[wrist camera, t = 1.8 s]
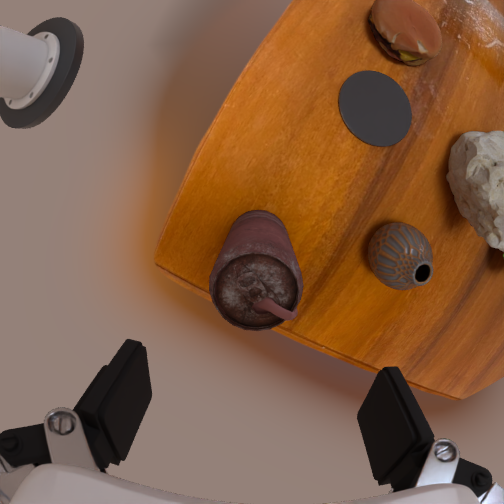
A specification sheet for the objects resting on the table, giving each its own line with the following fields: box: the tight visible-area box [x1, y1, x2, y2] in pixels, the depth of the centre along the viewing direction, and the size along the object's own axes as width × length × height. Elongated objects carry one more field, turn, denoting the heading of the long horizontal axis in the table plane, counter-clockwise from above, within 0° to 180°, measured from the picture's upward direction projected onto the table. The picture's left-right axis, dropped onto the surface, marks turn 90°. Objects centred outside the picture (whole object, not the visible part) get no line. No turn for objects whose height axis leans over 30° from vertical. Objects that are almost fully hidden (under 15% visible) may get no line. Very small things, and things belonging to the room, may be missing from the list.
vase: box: [368, 223, 433, 290], centre depth 26 cm, size 7×7×9 cm
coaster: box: [338, 71, 412, 147], centre depth 25 cm, size 9×9×1 cm
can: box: [209, 210, 303, 331], centre depth 24 cm, size 6×6×14 cm
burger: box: [368, 0, 442, 66], centre depth 20 cm, size 10×9×5 cm
